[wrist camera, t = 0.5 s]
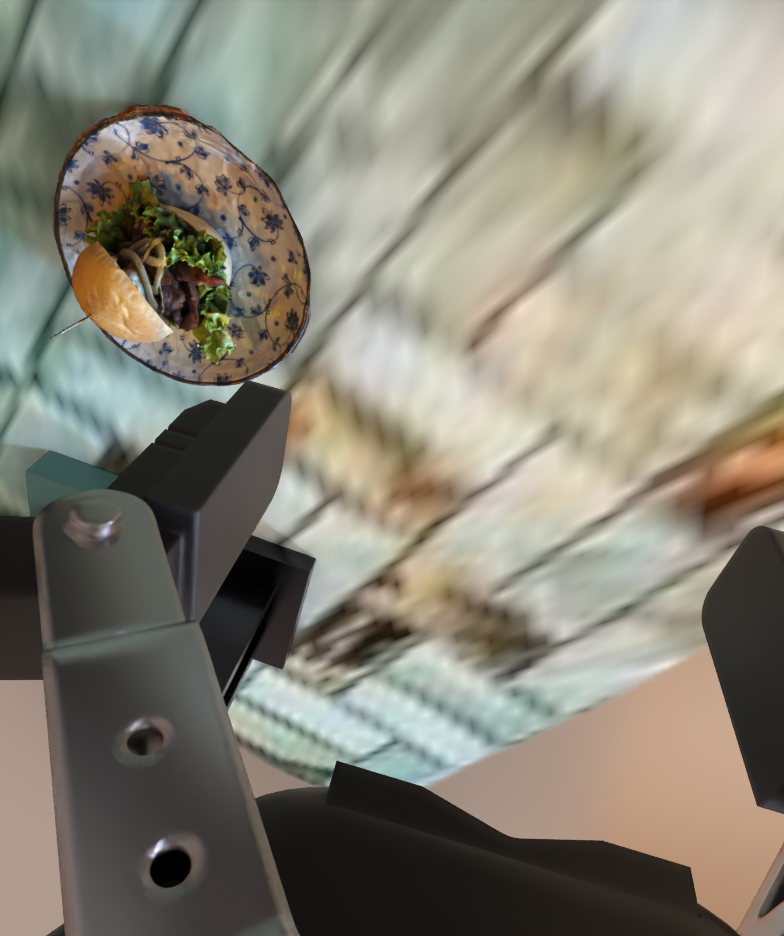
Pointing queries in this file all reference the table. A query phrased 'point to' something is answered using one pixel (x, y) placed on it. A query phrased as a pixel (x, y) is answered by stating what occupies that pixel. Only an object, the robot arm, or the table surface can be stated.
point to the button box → (61, 479)
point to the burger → (181, 248)
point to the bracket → (255, 612)
